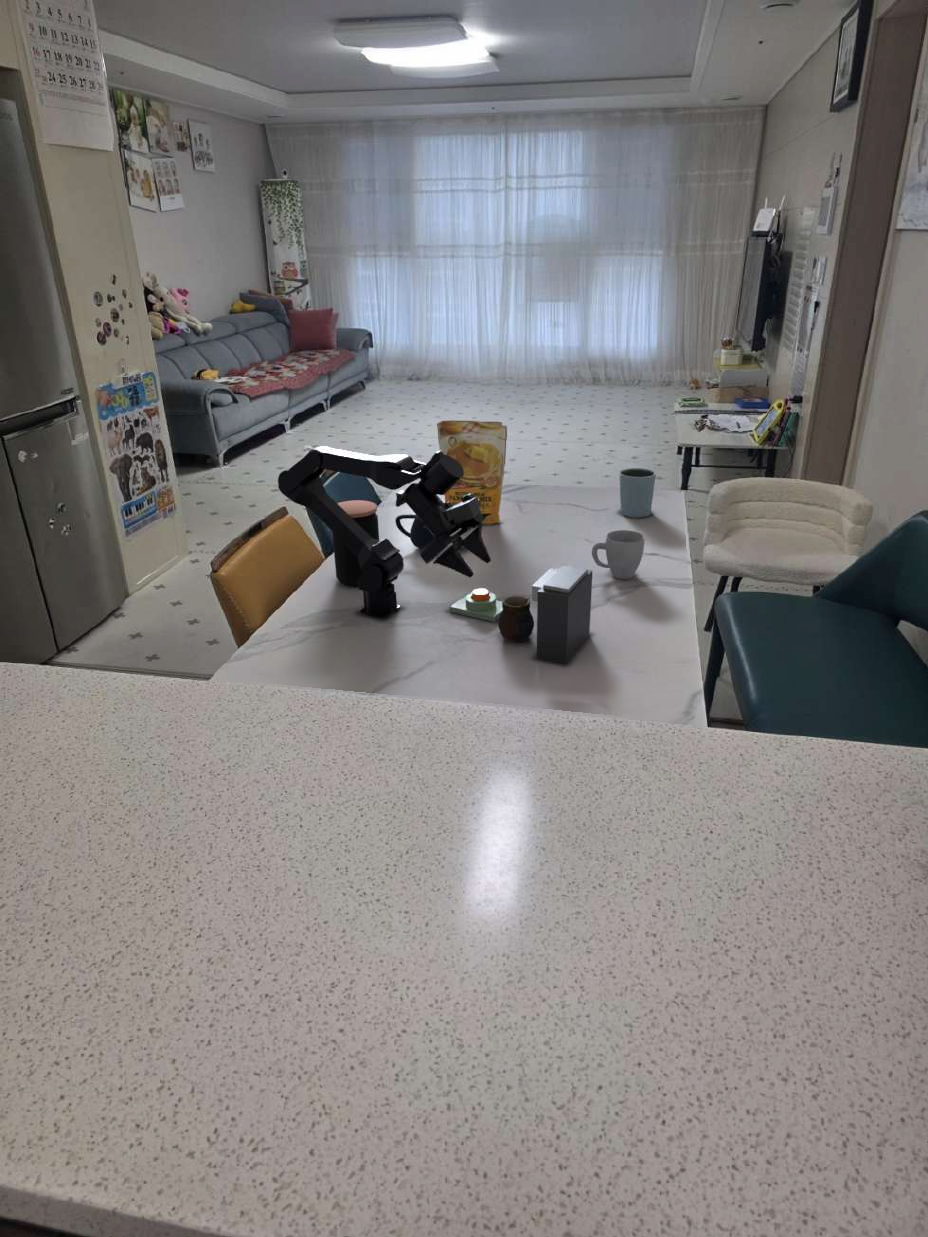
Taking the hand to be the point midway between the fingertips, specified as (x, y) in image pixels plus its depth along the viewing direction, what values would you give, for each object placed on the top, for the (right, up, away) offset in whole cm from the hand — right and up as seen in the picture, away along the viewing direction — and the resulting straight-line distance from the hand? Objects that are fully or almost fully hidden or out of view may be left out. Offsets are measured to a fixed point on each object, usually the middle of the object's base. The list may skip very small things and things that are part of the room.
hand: (481, 568), depth 164 cm
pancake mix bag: (-1, +18, +71) cm, 73 cm away
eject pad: (0, -8, +15) cm, 17 cm away
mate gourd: (+7, -14, +3) cm, 16 cm away
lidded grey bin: (+15, -15, -1) cm, 22 cm away
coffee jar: (-28, -1, +32) cm, 43 cm away
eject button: (0, -6, +14) cm, 15 cm away
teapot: (-9, +8, +51) cm, 52 cm away
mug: (+33, 0, +32) cm, 46 cm away
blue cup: (+46, +20, +74) cm, 90 cm away
